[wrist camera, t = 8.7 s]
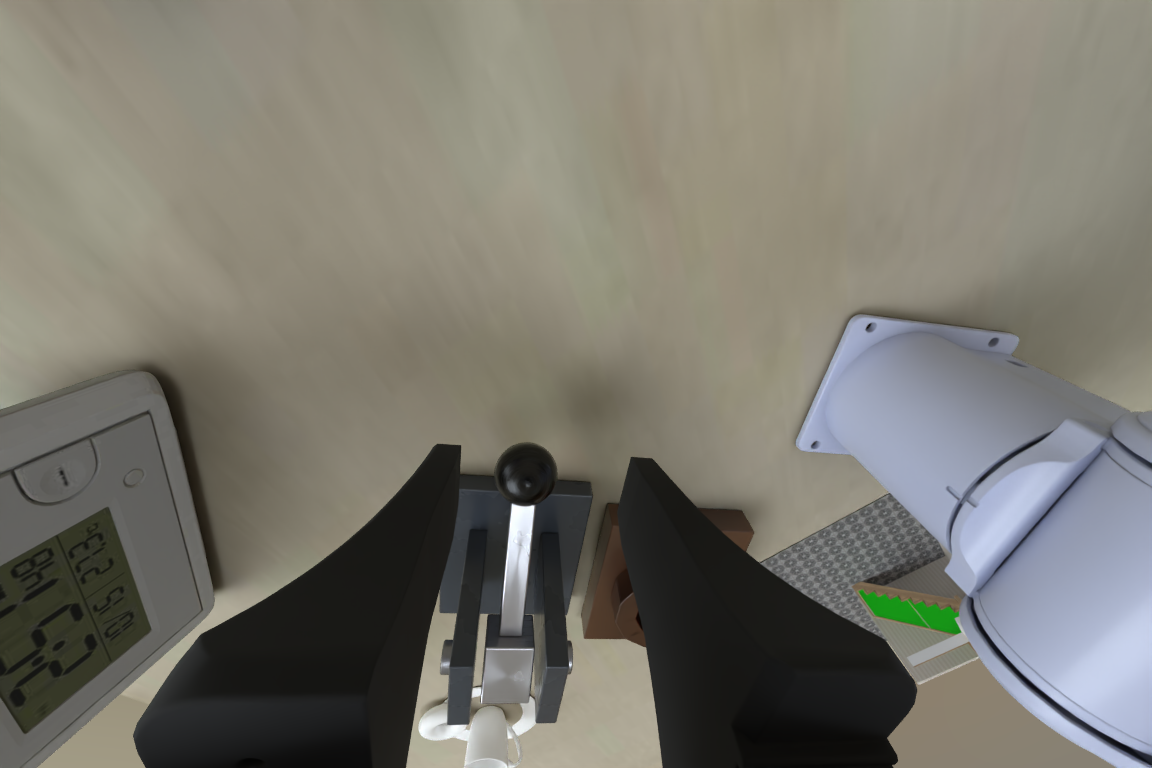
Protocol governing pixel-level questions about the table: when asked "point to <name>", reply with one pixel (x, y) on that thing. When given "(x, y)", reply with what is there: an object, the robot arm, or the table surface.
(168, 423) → the digital clock
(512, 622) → the switch lever
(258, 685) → the robot arm
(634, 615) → the stop block
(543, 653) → the switch bracket
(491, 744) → the teacup and saucer
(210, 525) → the table surface
